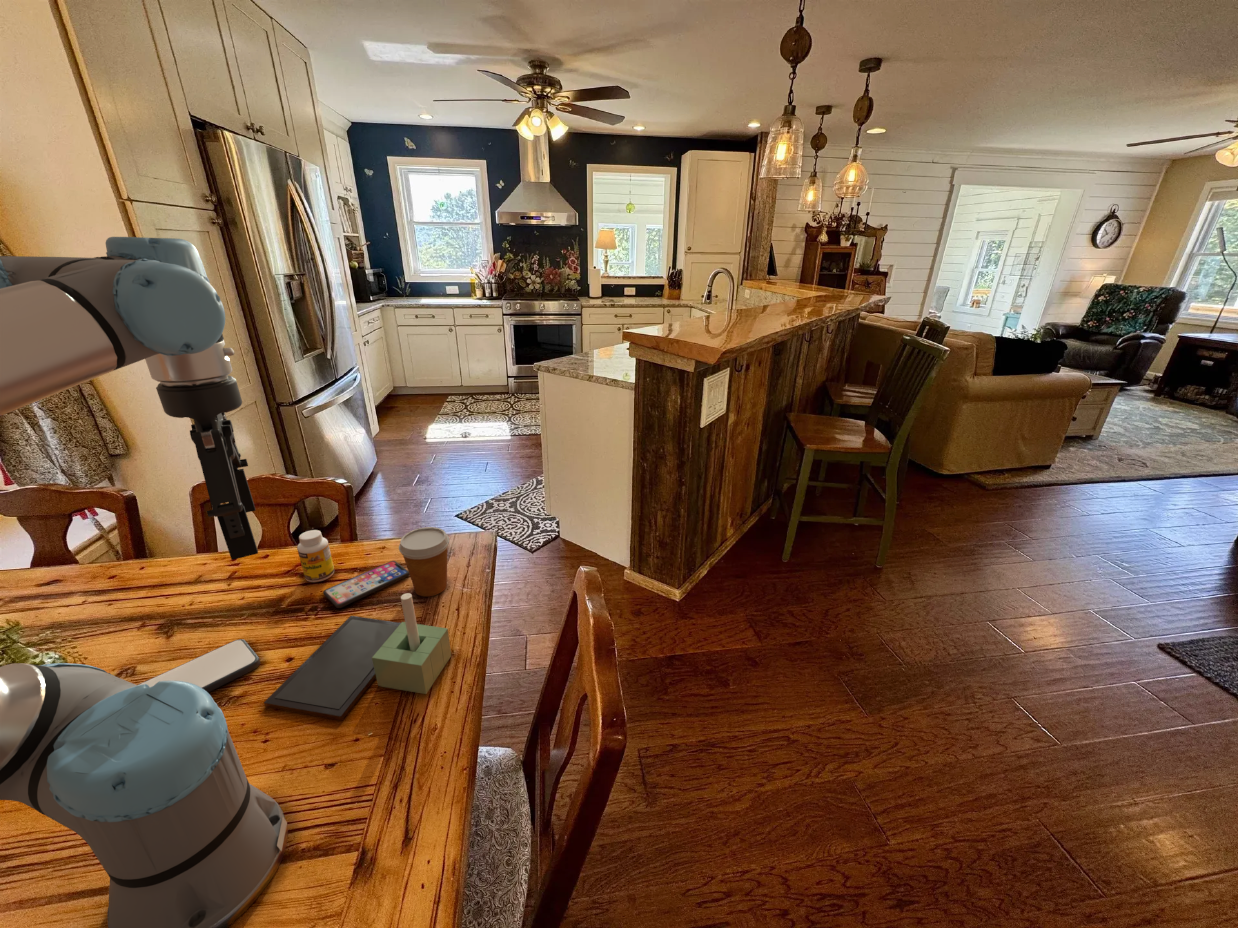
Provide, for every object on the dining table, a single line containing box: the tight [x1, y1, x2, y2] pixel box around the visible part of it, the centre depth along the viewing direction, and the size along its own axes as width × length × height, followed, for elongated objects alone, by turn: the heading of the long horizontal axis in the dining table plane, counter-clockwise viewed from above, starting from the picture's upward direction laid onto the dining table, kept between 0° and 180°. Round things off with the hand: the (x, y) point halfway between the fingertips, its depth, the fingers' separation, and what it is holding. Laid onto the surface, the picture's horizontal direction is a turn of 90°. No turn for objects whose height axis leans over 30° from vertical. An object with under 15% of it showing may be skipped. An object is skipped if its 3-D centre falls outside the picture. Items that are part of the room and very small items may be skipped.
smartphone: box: [322, 560, 410, 609], centre depth 102 cm, size 8×1×15 cm
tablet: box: [263, 615, 402, 722], centre depth 83 cm, size 20×13×1 cm, turn 170°
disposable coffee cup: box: [398, 526, 450, 597], centre depth 100 cm, size 10×10×12 cm
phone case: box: [137, 638, 261, 694], centre depth 79 cm, size 9×2×16 cm
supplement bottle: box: [296, 529, 335, 583], centre depth 103 cm, size 6×6×10 cm
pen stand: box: [372, 621, 452, 695], centre depth 81 cm, size 8×8×6 cm
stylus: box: [400, 592, 420, 652], centre depth 80 cm, size 2×2×15 cm
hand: (244, 532), depth 67 cm, fingers open, 13 cm apart
